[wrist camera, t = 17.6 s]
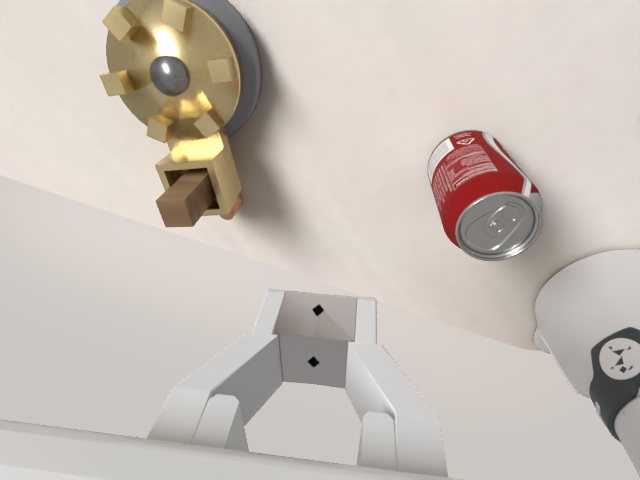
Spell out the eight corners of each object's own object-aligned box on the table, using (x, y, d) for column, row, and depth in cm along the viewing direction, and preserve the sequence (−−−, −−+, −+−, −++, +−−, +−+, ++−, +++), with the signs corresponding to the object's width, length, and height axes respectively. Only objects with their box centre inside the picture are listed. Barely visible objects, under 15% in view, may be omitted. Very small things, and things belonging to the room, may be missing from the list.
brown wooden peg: (222, 188, 35) (193, 226, 30) (199, 189, 36) (165, 227, 30) (216, 165, 34) (184, 200, 28) (192, 166, 34) (155, 201, 29)
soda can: (411, 169, 36) (426, 235, 26) (464, 112, 32) (503, 164, 23) (462, 206, 38) (493, 282, 28) (517, 155, 34) (576, 222, 24)
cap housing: (317, 59, 31) (312, 64, 29) (239, 208, 41) (230, 222, 38) (140, -59, 28) (117, -64, 26) (99, 132, 38) (80, 142, 35)
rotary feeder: (270, 190, 37) (258, 212, 33) (169, 197, 38) (147, 218, 35) (223, -17, 27) (199, -19, 24) (94, 5, 29) (53, 7, 25)
